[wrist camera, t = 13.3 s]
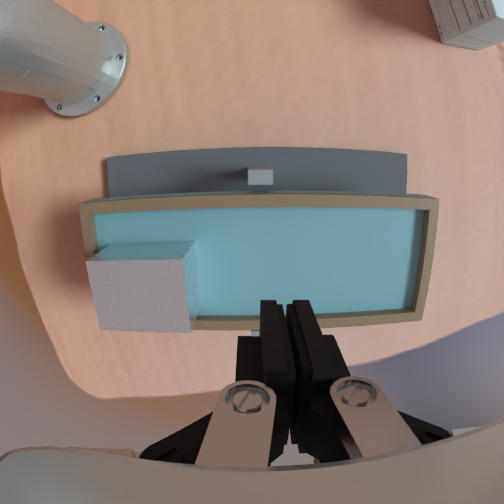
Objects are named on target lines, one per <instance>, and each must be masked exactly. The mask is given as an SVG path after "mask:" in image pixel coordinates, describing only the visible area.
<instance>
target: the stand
mask: <svg viewBox="0 0 504 504" xmlns="http://www.w3.org/2000/svg"><path fill="white" fill-rule="evenodd" d="M107 174H108V189H109V198H110V197H123V196H137V195H153V194H171V193H192V192H220V191H354V192H381V193H402V194H406V184H407V154H400V153H389V152H377V151H364V150H348V149H328V148H290V147H257V148H219V149H199V150H182V151H169V152H157V153H146V154H136V155H127V156H118V157H110V158H107ZM251 336H259V330H251Z"/></svg>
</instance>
